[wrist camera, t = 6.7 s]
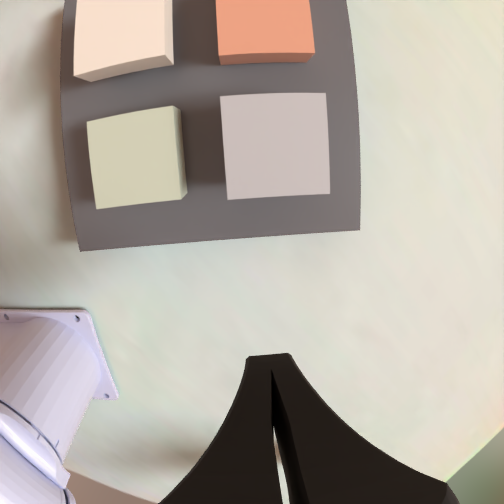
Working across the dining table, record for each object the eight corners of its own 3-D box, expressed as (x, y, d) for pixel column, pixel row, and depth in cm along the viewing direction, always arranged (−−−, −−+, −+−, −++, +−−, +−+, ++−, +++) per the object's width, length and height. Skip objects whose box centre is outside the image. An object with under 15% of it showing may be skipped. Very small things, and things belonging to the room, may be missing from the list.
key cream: (91, 82, 12) (73, 76, 10) (92, 10, 11) (77, -2, 9) (173, 64, 12) (164, 54, 10) (172, -9, 11) (164, -25, 9)
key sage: (110, 201, 15) (96, 209, 13) (102, 123, 14) (86, 121, 12) (187, 192, 15) (181, 199, 13) (180, 109, 14) (173, 105, 12)
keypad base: (94, 240, 18) (79, 251, 16) (79, 6, 13) (65, -4, 11) (347, 220, 18) (359, 230, 16) (330, -22, 13) (339, -36, 11)
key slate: (228, 192, 14) (227, 200, 12) (222, 102, 13) (220, 96, 11) (319, 187, 14) (330, 193, 12) (315, 98, 13) (325, 93, 11)
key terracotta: (220, 65, 13) (218, 55, 11) (216, -5, 12) (214, -21, 10) (306, 62, 13) (315, 53, 11) (298, -7, 12) (305, -22, 10)
